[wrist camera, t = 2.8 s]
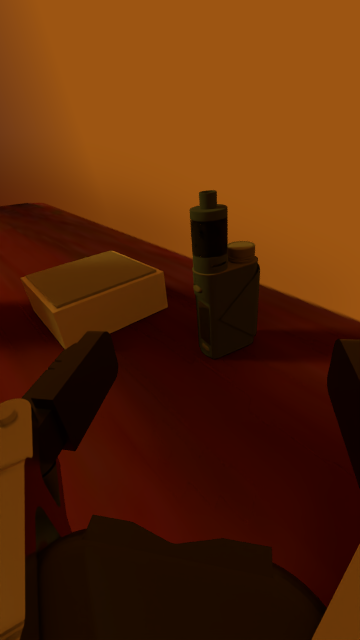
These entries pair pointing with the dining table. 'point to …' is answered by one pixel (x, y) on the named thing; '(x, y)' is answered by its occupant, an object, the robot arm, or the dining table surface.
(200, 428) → the dining table surface
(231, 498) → the dining table surface
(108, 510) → the dining table surface
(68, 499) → the dining table surface
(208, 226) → the vaping device
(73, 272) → the riser
